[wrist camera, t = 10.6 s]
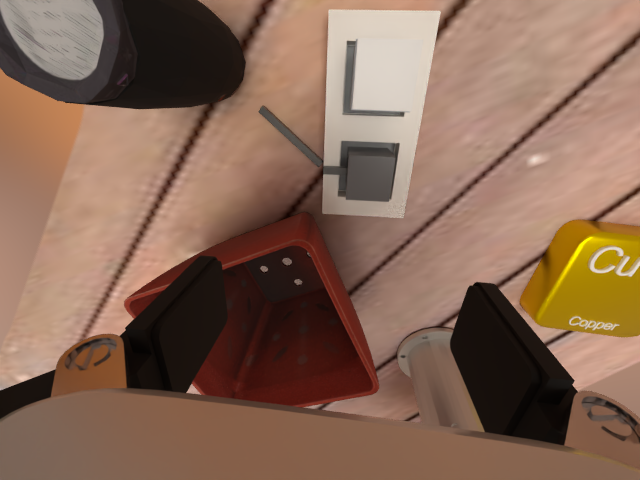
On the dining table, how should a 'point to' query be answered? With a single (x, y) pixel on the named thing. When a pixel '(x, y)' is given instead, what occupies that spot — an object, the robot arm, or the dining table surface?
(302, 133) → the dining table surface
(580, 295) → the element tile
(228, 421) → the robot arm
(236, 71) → the portable speaker
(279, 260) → the plant pot
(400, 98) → the plug
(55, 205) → the dining table surface
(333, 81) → the power strip
